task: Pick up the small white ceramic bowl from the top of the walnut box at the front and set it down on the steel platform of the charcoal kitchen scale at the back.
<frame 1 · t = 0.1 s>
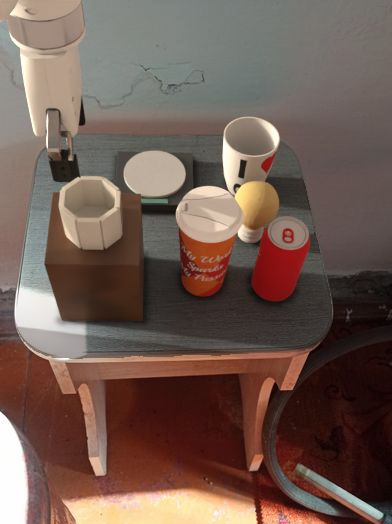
hand: (70, 151, 70), 15 cm above the table, tool pointing down, fingers open, 9 cm apart
beverage can: (271, 286, 81), on the table
bowl: (94, 227, 68), point 13 cm above the table, touching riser
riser: (104, 287, 79), on the table
light bulb: (249, 236, 85), on the table
cup: (242, 186, 90), on the table
scale: (154, 184, 89), on the table
coffee cup: (202, 280, 81), on the table
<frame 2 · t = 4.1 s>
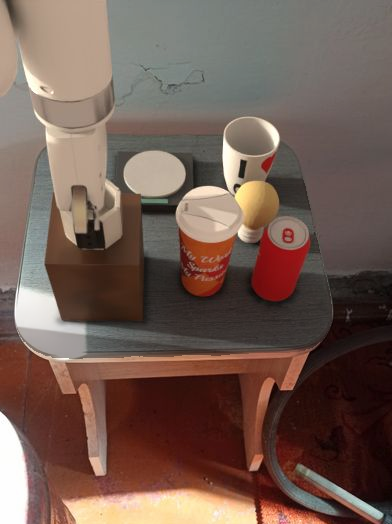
hand: (93, 220, 67), 14 cm above the table, tool pointing down, fingers closed on bowl, 6 cm apart
bowl: (94, 227, 68), point 13 cm above the table, touching gripper, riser
everything else where it was.
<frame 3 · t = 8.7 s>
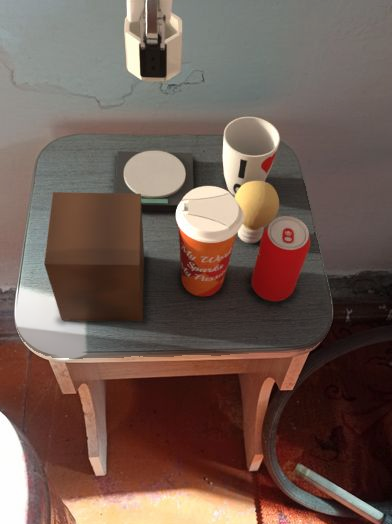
hand: (153, 54, 70), 22 cm above the table, tool pointing down, fingers closed on bowl, 6 cm apart
bowl: (154, 63, 71), point 21 cm above the table, touching gripper
everything else where it was.
when the fingers open (3 cm above the table, at t = 13.3 s): bowl stays where it is, resting on scale.
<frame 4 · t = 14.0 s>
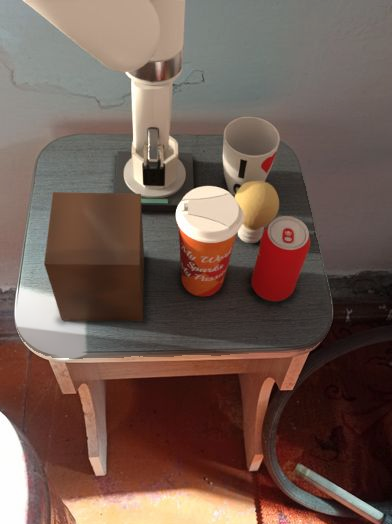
hand: (154, 160, 85), 5 cm above the table, tool pointing down, fingers open, 9 cm apart
bowl: (155, 172, 87), point 2 cm above the table, touching scale
everything else where it was.
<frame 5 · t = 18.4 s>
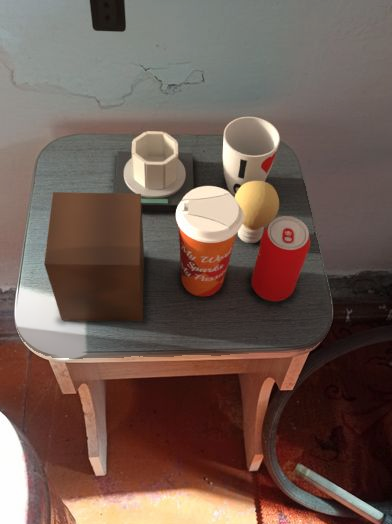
nothing on the table moved.
at the end: bowl 0.1 cm off-centre on the scale, point 2.0 cm above the scale's base; bowl tilted 0°; the gripper is holding nothing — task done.
